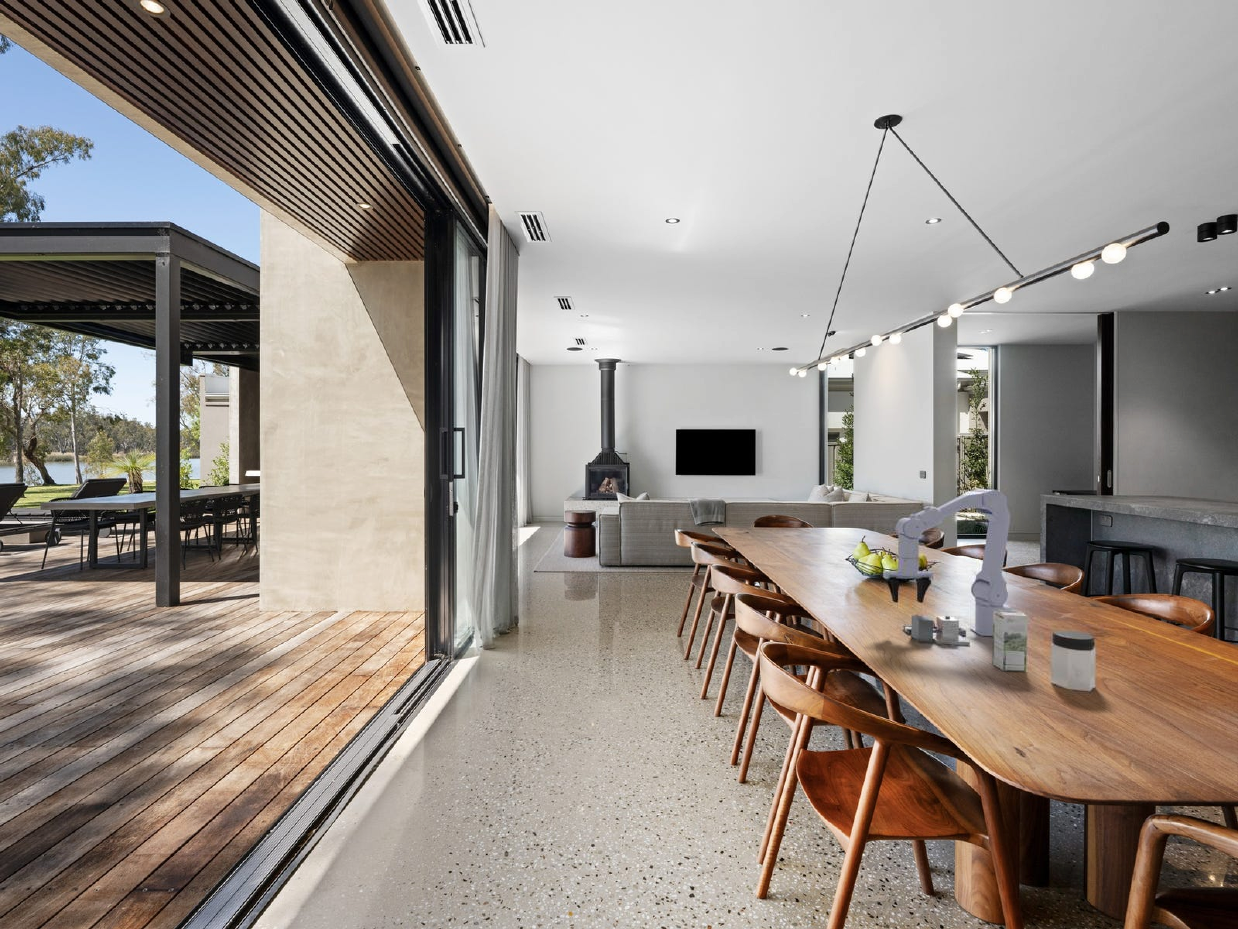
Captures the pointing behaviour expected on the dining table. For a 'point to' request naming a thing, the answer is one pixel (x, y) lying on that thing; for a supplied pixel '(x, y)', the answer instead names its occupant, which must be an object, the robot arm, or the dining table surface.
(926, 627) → the press
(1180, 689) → the dining table surface
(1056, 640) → the jar
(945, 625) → the block
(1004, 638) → the syrup box
